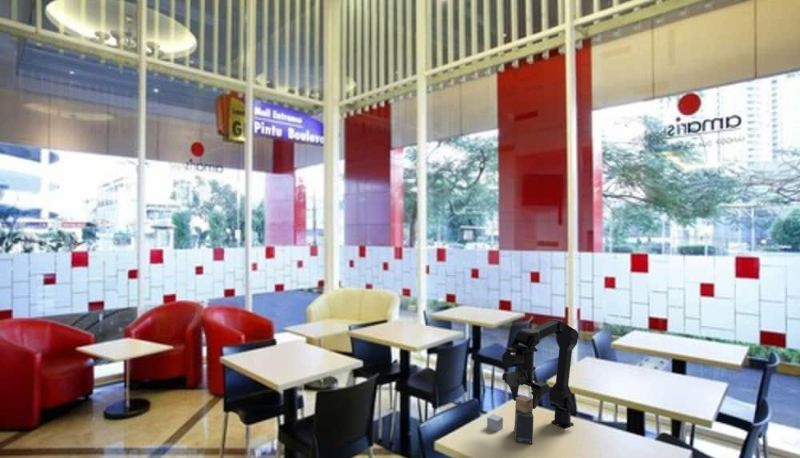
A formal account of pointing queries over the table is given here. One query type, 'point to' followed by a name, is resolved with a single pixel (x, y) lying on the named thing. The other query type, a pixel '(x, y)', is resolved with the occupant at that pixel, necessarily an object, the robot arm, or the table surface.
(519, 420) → the small box
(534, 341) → the robot arm
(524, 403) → the walnut cube
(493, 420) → the slate block
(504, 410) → the table surface
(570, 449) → the table surface
